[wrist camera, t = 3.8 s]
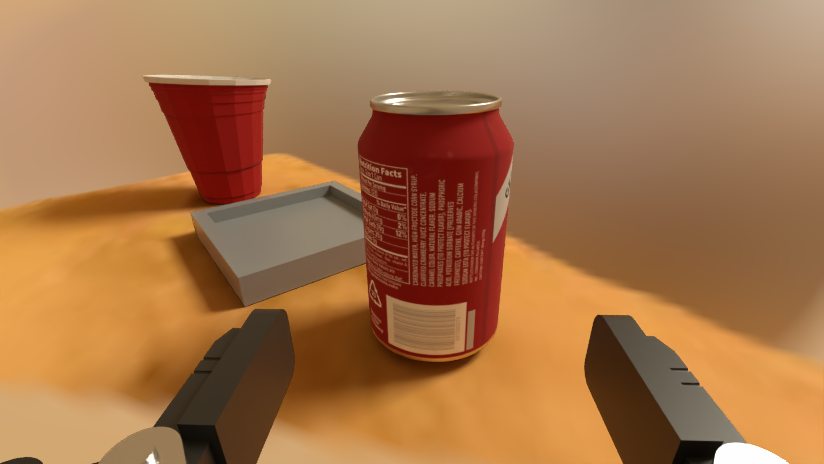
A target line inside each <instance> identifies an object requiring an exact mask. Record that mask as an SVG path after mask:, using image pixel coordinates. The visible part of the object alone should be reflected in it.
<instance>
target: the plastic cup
mask: <svg viewBox="0 0 824 464" xmlns="http://www.w3.org/2000/svg"><path fill="white" fill-rule="evenodd" d="M143 78H144V80H145V81H146V82H149V86H150V87H151V89H152V91H153V92H154V95H155V97H156V99H157V100H158V102H159V105H160V107H161V110H162V112H163V113H164V115H165V117H166V119H167V122H168V124H169V126H170V129H171V131H172V133H173V135H174V138H175V140H176V143H177V145H178V147H179V149H180V152H181V154H182V157H183V159H184V161H185V163H186V166H187V168H188V170H189V171H190V172H191V175H192V177H193V179H194V181H195V184H196V186H197V188H198V191H199V193H200V194H201V196H202V197H203V199H204V201H205V202H208V203H211V204H229V203H236V202H240V201H245V200H249V199H251V198H254V197H256V196H257V195H259V194H260V192H261V186H262V160H263V109H264V100H265V98H266V91H267V88H268V85H269V84H270V82H271V80H270V79H259V78H243V77H220V76H187V75H144V76H143Z"/></svg>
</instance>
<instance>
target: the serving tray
mask: <svg viewBox="0 0 824 464" xmlns="http://www.w3.org/2000/svg"><path fill="white" fill-rule="evenodd" d="M190 213H191V217H192V220H193V224H194V228H195V232H196V235H197V237H198V238H199V240H200V241H201V242H202V244H203V245H204V247H205V248H206V250H207V251H208V253H209V254H210V256H211V257H212V259H213V260H214V262H215V263H216V265H217V266H218V268H219V269H220V271H221V272H222V274H223V275H224V277H225V278H226V280H227V281H228V283H229V284H230V285H231V287H232V288H233V290H234V291H235V293H236V294H237V296H238V297H239V299H240V300H241V302H242V303H243V305H244V306H245V307H246V306H248V305H251V304H254V303H257V302H259V301H262V300H265V299H268V298H270V297H273V296H276V295H279V294H281V293H284V292H287V291H290V290H292V289H295V288H298V287H301V286H304V285H306V284H309V283H312V282H315V281H317V280H320V279H323V278H326V277H328V276H331V275H334V274H337V273H339V272H342V271H345V270H348V269H350V268H353V267H356V266H359V265H361V264H364V263H366V253H365V239H364V225H363V211H362V197H361V194H360V193H358V192H356V191H354V190H352V189H350V188H348V187H346V186H344V185H342V184H340V183H338V182H336V181H331V182H327V183H322V184H318V185H313V186H309V187H304V188H299V189H295V190H290V191H286V192H281V193H277V194H272V195H268V196H263V197H259V198H254V199H249V200H245V201H240V202H236V203H231V204H227V205H222V206H218V207H213V208H209V209H204V210H200V211H195V212H190Z"/></svg>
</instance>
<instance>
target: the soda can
mask: <svg viewBox="0 0 824 464" xmlns="http://www.w3.org/2000/svg"><path fill="white" fill-rule="evenodd" d="M501 105H502V98H501V97H500V96H497V95H494V94H488V93H480V92H466V91H465V92H464V91H416V92H401V93H391V94H384V95H379V96H375V97H372V98H371V99H370V107H371V108H372V109H373V114H372V117H371V119H370V120H369V122H368V124H367V126H366V128H365V130H364V131H363V133H362V135H361V137H360V139H359V141H358V156H359V169H360V184H361V197H362V211H363V225H364V239H365V253H366V267H367V280H368V294H369V308H370V322H371V328H372V331H373V333H374V335H375V336H376V338H377V339H378V340H379V341H380V342H381V343H382V344H383V345H384V346H385V347H386V348H388V349H389V350H391V351H392V352H394V353H396V354H398V355H401V356H403V357H406V358H409V359H413V360H418V361H425V362H446V361H453V360H458V359H462V358H465V357H468V356H470V355H472V354H474V353H476V352H478V351H480V350H481V349H482V348H484V347H485V346H486V345H487V344H488V343H489V342H490V341H491V340H492V338H493V337H494V335H495V333H496V329H497V323H498V313H499V302H500V291H501V280H502V269H503V258H504V247H505V236H506V225H507V214H508V203H509V192H510V182H511V170H512V159H513V149H514V142H513V139H512V137H511V135H510V133H509V132H508V130H507V128H506V126H505V124H504V122H503V120H502V119H501V117H500V114H499V108H500V107H501Z"/></svg>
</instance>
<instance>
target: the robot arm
mask: <svg viewBox="0 0 824 464" xmlns="http://www.w3.org/2000/svg"><path fill="white" fill-rule="evenodd" d="M294 363H295V356H294V350H293V344H292V338H291V333H290V327H289V321H288V316H287V313H286V311H285V310H284V309H255V310H253V311H252V312H251V314H250V315H249V317H248V318H247V320H246V321H245V323H244V324H243V326H242V327H241V328H232V329H231V330H230V331H228V332H227V333H226V334H224V335H223V336H222V337H220V338H219V339H218V340H217V341H215V342H214V344H213V345H212V347H211V348H210V349H209V351H208V352H207V353H206V355H205V356H204V360H203V361H202V360H201V362H200V363H199V364H198V366H197V367H196V369H195V370H194V374H191V375H190V377H189V378H188V380H187V381H186V382H185V384H184V385H183V386H182V388H181V389H180V391H179V392H178V393H177V395H176V396H175V398H174V399H173V400H172V402H171V403H170V404H169V406H168V407H167V409H166V410H165V411H164V413H163V414H162V415H161V417H160V418H159V420H158V421H157V422H156V424H155V425H154V426H153V427H152V428H148V429H144V430H141V431H139V432H136V433H134V434H132V435H130V436H128V437H127V438H125V439H123V440H122V441H120V442H119V443H118V444H116V445H115V446H114V447H113V448H112V449H111V450H110V451H108V453H106V455H105V456H104V457H103V458H102V459H101V461H100V462H97V463H93V464H256V463H257V461H258V458H259V456H260V453H261V451H262V449H263V446H264V444H265V441H266V439H267V437H268V434H269V432H270V429H271V427H272V425H273V422H274V420H275V417H276V415H277V413H278V410H279V408H280V405H281V403H282V401H283V398H284V396H285V393H286V391H287V389H288V386H289V384H290V381H291V379H292V376H293V371H294ZM584 369H585V378H586V382H587V385H588V388H589V390H590V392H591V394H592V397H593V399H594V401H595V403H596V405H597V408H598V410H599V412H600V414H601V416H602V418H603V421H604V423H605V425H606V427H607V429H608V432H609V434H610V436H611V438H612V440H613V442H614V445H615V447H616V449H617V451H618V453H619V456H620V458H621V460H622V462H623V464H788V463H787V462H785V461H784V460H782V459H781V458H779V457H777V456H776V455H774V454H772V453H770V452H768V451H766V450H763V449H761V448H758V447H755V446H752V445H749V444H748V443H747V442H746V441H745V440H744V438H743V437H742V436H741V435H740V433H739V432H738V431H737V430H736V428H735V427H734V426H733V425H732V423H731V422H730V421H729V420H728V418H727V417H726V416H725V414H724V413H723V412H722V411H721V409H720V408H719V407H718V406H717V404H716V403H715V402H714V401H713V399H712V398H711V397H710V396H709V394H708V393H707V392H706V390H705V389H704V388H703V387H700V385H699V382H698V380H697V379H696V378H695V377H694V375H693V374H692V373H691V372H688V368H687V367H686V365H685V364H684V363H683V361H682V360H681V359H680V358H679V356H678V355H677V354H676V353H675V351H673V350H672V349H671V348H669V347H668V346H667V345H665V344H664V343H662V342H661V341H660V340H658V339H657V338H656V337H654V336H646V335H645V334H644V332H643V331H642V330H641V328H640V327H639V325H638V324H637V323H636V321H635V320H634V319H633V318H632V317H631V316H629V315H597V316H596V317H595V319H594V322H593V326H592V331H591V335H590V340H589V344H588V349H587V354H586V358H585V365H584ZM0 464H43V463H42V462H41V461H40V460H38V459H36V458H32V457H23V458H16V459H12V460H9V461H6V462H3V463H0Z"/></svg>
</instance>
